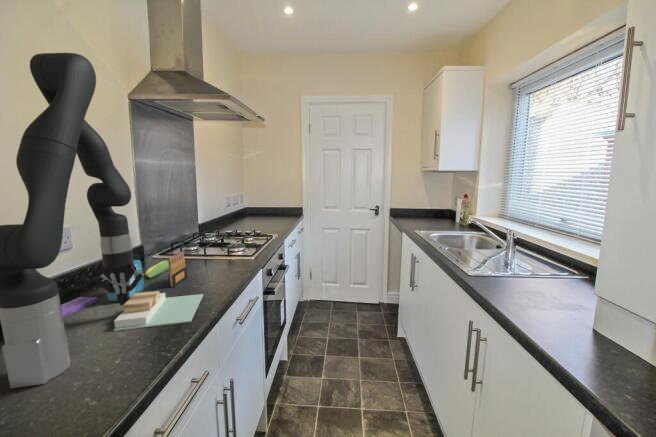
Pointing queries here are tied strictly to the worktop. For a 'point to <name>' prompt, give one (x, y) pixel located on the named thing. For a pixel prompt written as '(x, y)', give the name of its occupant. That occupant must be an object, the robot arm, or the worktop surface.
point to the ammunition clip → (177, 270)
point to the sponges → (76, 305)
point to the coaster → (141, 302)
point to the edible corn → (156, 270)
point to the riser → (138, 315)
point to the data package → (138, 287)
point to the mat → (172, 312)
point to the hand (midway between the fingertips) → (124, 303)
